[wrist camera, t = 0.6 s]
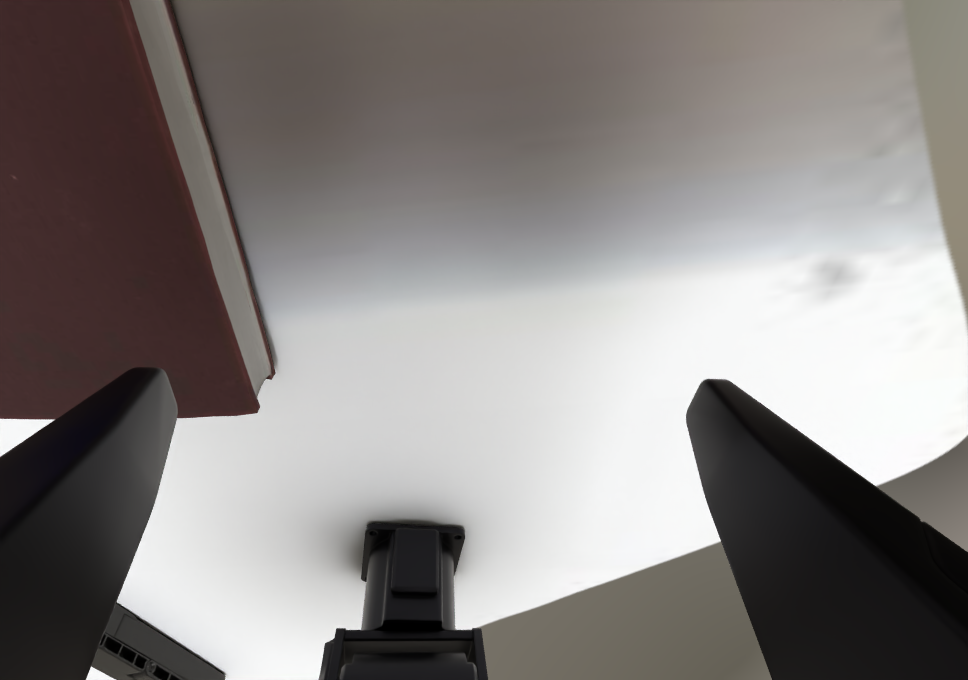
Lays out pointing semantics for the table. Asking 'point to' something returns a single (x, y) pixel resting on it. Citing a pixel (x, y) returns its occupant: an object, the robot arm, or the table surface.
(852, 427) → the table surface
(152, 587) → the table surface
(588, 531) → the table surface
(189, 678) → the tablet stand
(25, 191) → the book
